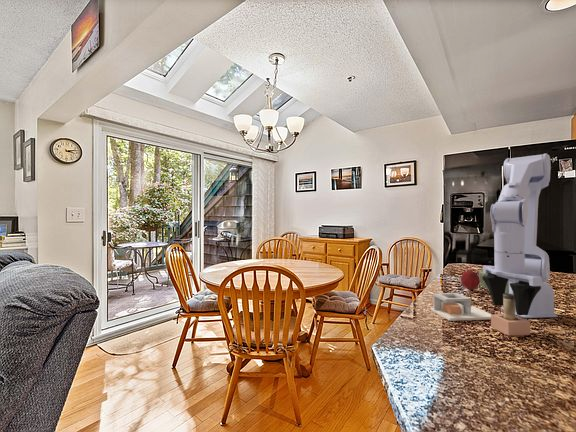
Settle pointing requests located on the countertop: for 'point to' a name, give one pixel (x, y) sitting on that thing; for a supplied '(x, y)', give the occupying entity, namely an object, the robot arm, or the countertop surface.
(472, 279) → the onion
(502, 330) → the stylus holder
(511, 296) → the stylus
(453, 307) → the button
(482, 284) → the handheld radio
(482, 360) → the countertop surface
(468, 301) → the square socket plate
